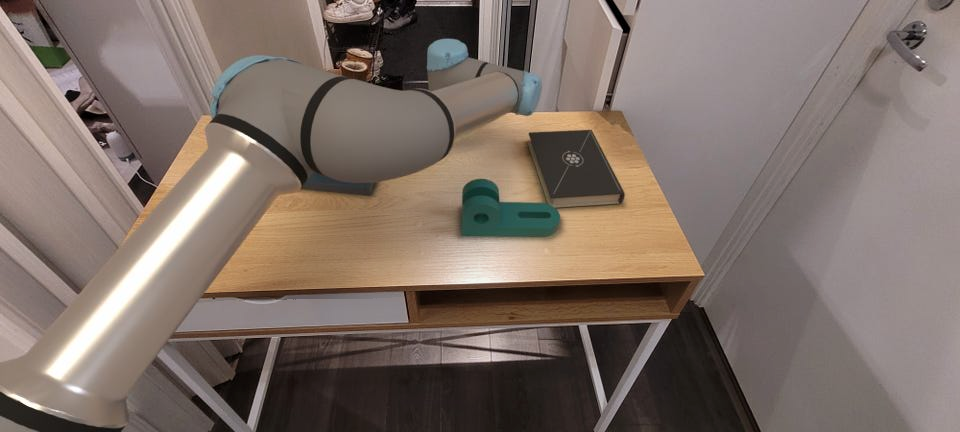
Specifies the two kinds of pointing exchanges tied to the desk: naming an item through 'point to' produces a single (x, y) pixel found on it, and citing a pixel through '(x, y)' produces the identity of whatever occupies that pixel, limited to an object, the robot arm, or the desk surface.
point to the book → (574, 169)
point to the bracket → (504, 214)
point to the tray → (337, 185)
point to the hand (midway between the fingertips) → (279, 136)
